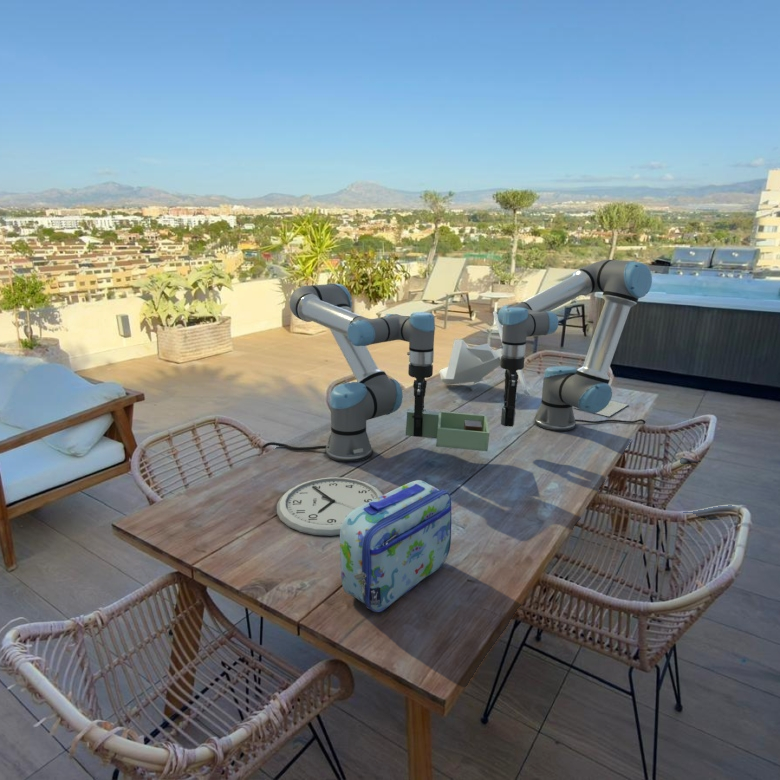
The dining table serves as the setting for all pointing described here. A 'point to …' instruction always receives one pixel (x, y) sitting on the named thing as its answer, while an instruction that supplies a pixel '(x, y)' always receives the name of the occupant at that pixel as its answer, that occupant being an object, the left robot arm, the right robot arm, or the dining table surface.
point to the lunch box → (394, 543)
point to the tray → (451, 429)
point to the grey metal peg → (504, 416)
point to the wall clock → (323, 504)
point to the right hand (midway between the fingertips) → (507, 423)
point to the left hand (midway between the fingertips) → (418, 433)
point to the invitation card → (611, 408)
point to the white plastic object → (475, 362)
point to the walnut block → (472, 425)
